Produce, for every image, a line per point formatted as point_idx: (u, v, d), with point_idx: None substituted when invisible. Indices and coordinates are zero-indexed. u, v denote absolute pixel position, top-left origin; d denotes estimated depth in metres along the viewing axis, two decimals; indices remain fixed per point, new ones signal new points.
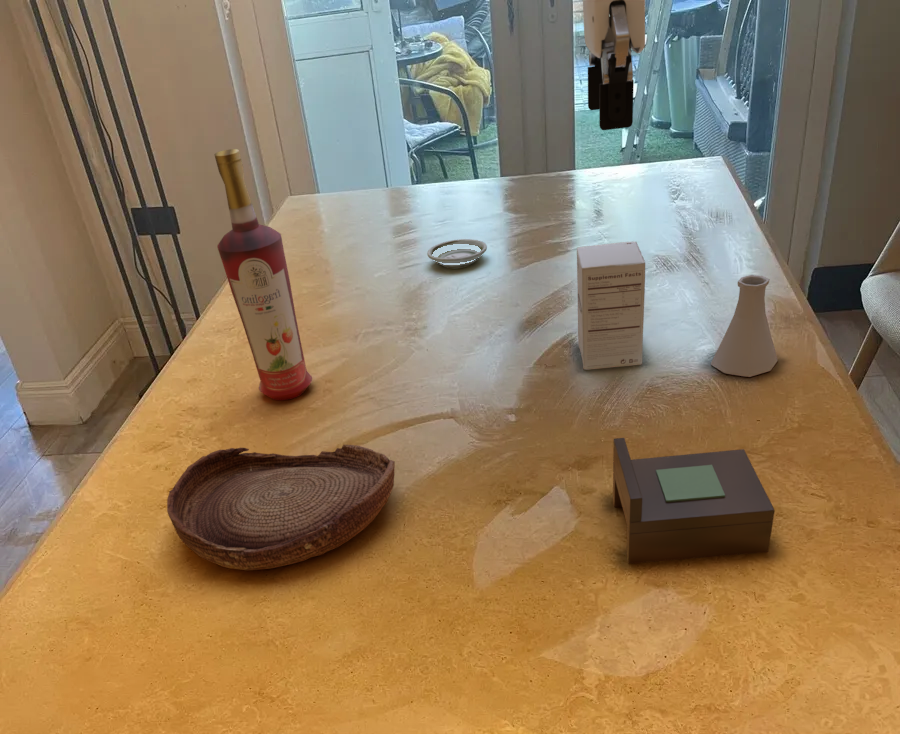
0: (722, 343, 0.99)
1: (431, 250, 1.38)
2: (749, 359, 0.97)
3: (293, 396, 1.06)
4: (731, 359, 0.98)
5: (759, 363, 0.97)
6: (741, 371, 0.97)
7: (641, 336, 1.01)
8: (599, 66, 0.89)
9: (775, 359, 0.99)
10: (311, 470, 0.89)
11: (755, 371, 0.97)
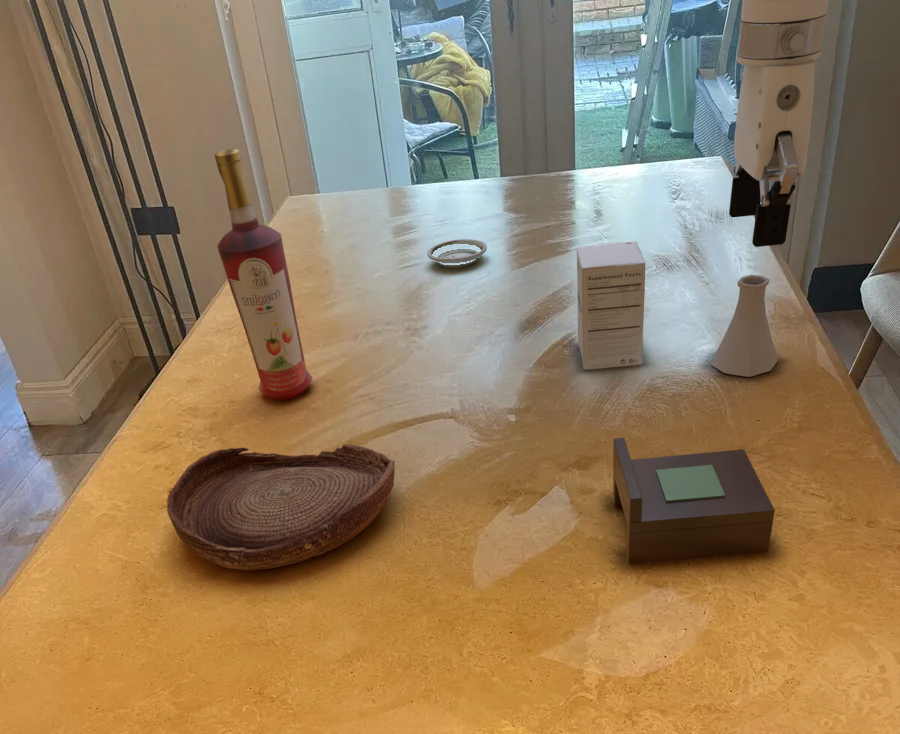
0: (722, 343, 0.99)
1: (431, 250, 1.38)
2: (749, 359, 0.97)
3: (293, 396, 1.06)
4: (731, 359, 0.98)
5: (759, 363, 0.97)
6: (741, 371, 0.97)
7: (641, 336, 1.01)
8: (745, 178, 0.92)
9: (775, 359, 0.99)
10: (311, 470, 0.89)
11: (755, 371, 0.97)
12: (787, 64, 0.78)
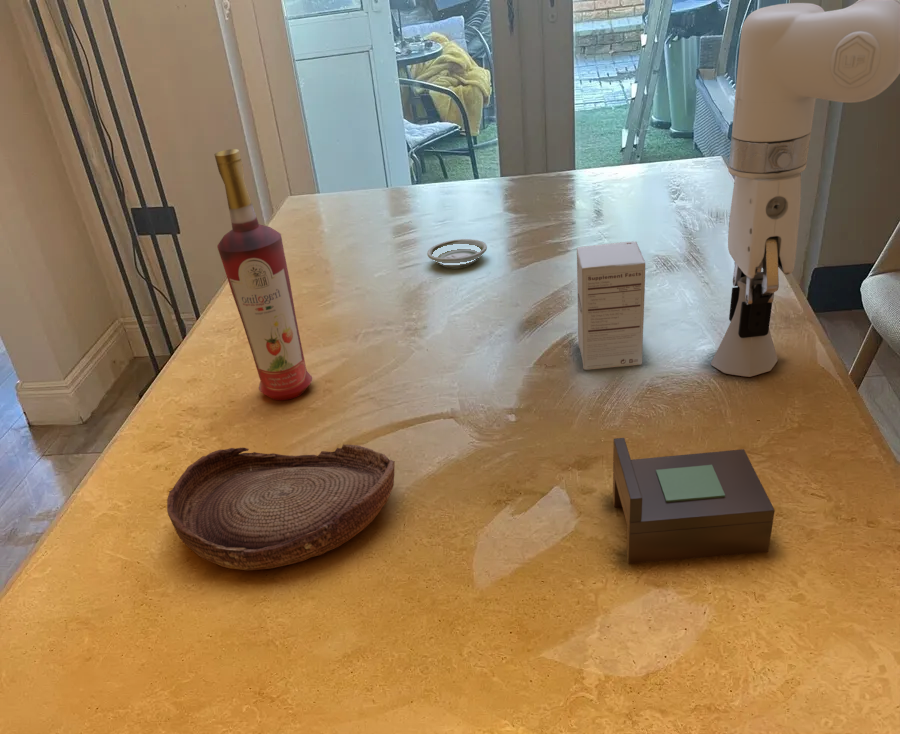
0: (722, 343, 0.99)
1: (431, 250, 1.38)
2: (749, 359, 0.97)
3: (293, 396, 1.06)
4: (731, 359, 0.98)
5: (759, 363, 0.97)
6: (741, 371, 0.97)
7: (641, 336, 1.01)
8: None
9: (775, 359, 0.99)
10: (311, 470, 0.89)
11: (755, 371, 0.97)
12: (775, 178, 0.84)
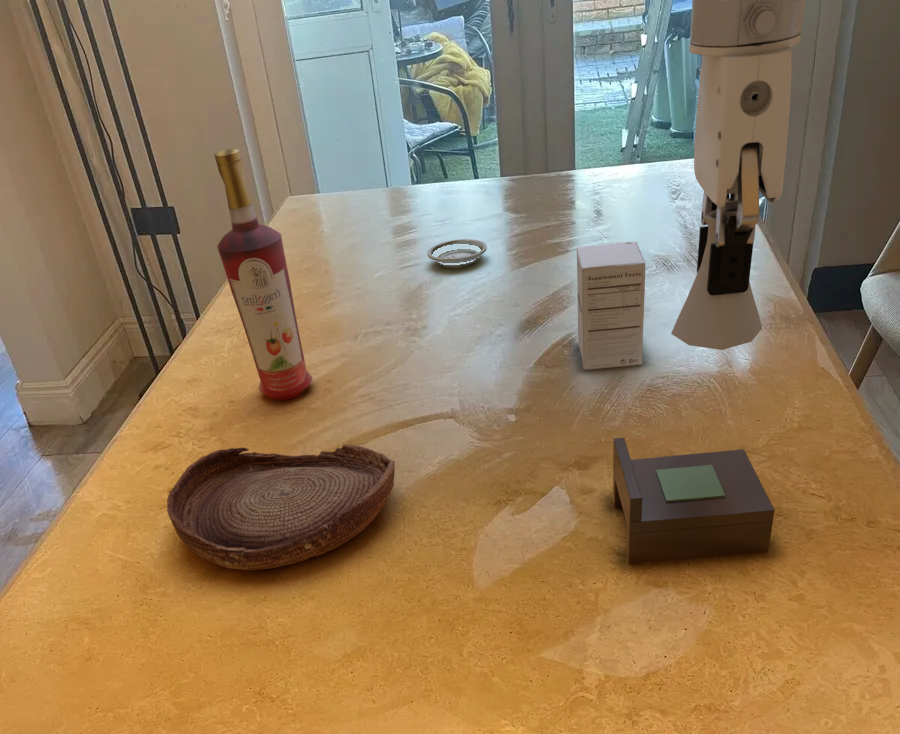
0: (686, 304, 0.72)
1: (431, 250, 1.38)
2: (721, 325, 0.70)
3: (293, 396, 1.06)
4: (697, 326, 0.71)
5: (735, 332, 0.71)
6: (711, 342, 0.71)
7: (641, 336, 1.01)
8: None
9: (758, 327, 0.73)
10: (311, 470, 0.89)
11: (730, 343, 0.71)
12: (754, 53, 0.57)
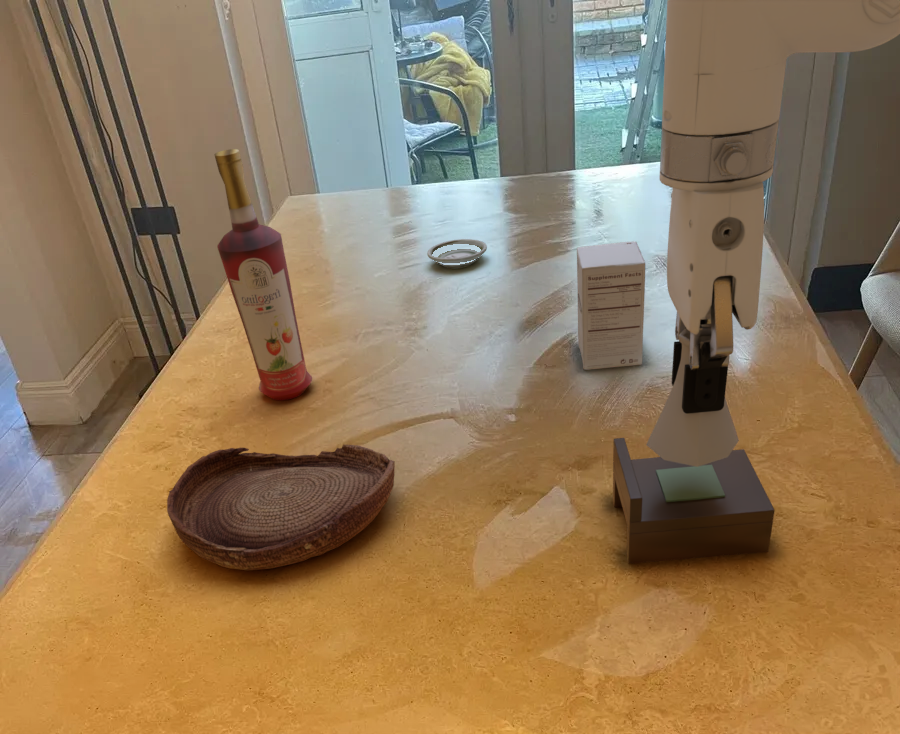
0: (661, 418, 0.71)
1: (431, 250, 1.38)
2: (697, 443, 0.69)
3: (293, 396, 1.06)
4: (672, 441, 0.70)
5: (711, 448, 0.69)
6: (687, 458, 0.69)
7: (641, 336, 1.01)
8: None
9: (735, 440, 0.71)
10: (311, 470, 0.89)
11: (706, 459, 0.69)
12: (725, 189, 0.56)
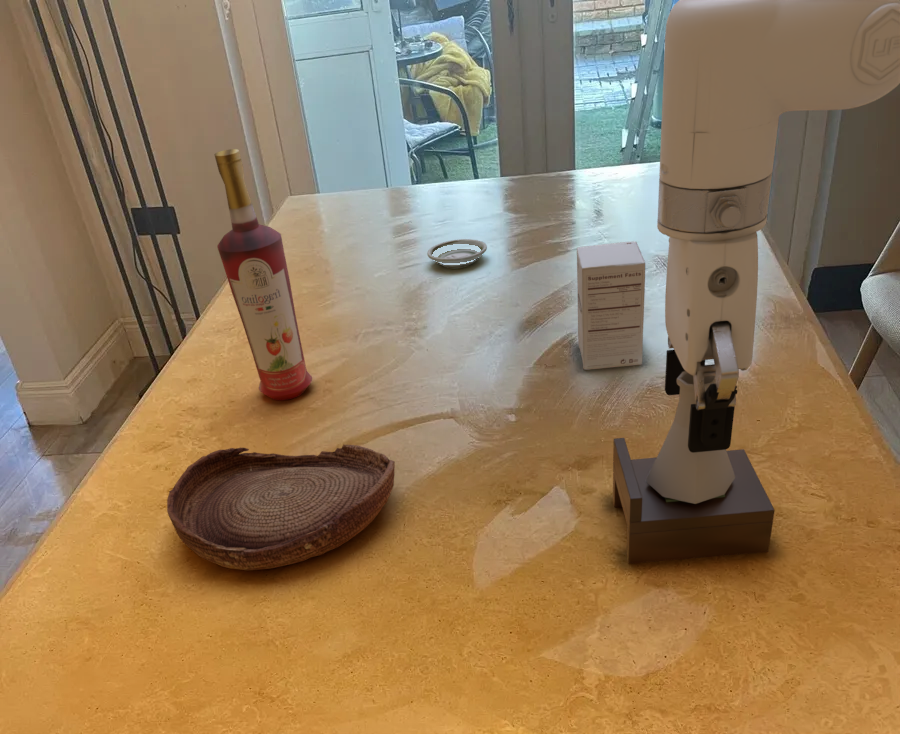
0: (659, 456, 0.73)
1: (431, 250, 1.38)
2: (694, 481, 0.71)
3: (293, 396, 1.06)
4: (671, 479, 0.72)
5: (708, 486, 0.72)
6: (685, 495, 0.72)
7: (641, 336, 1.01)
8: None
9: (731, 477, 0.73)
10: (311, 470, 0.89)
11: (704, 496, 0.72)
12: (720, 240, 0.58)
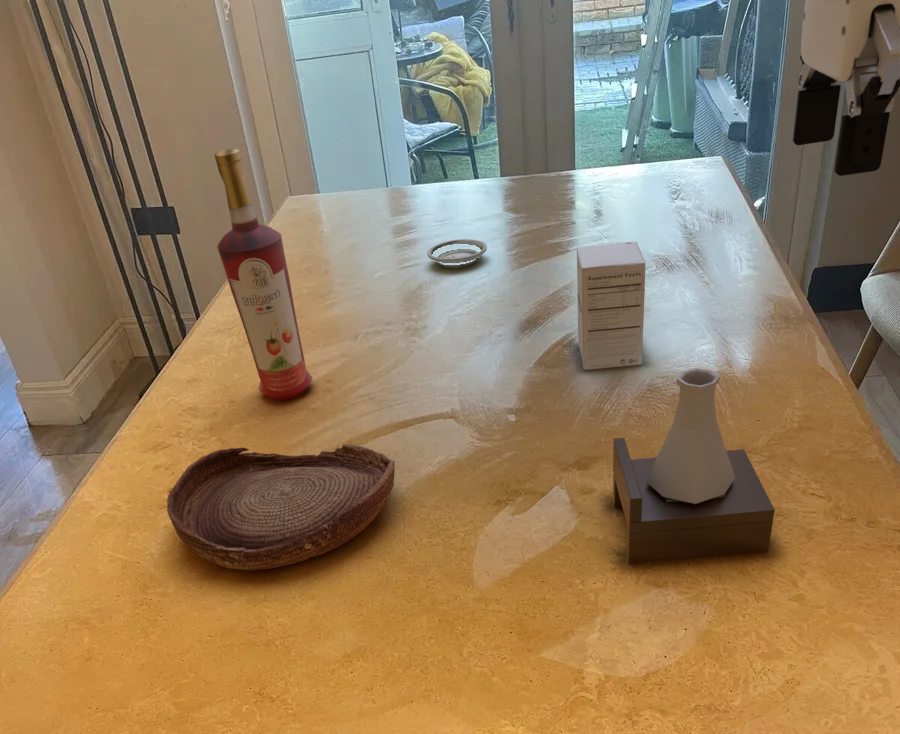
0: (659, 456, 0.73)
1: (431, 250, 1.38)
2: (694, 481, 0.71)
3: (293, 396, 1.06)
4: (671, 479, 0.72)
5: (708, 486, 0.72)
6: (685, 495, 0.72)
7: (641, 336, 1.01)
8: (815, 89, 0.69)
9: (731, 477, 0.73)
10: (311, 470, 0.89)
11: (704, 496, 0.72)
12: None
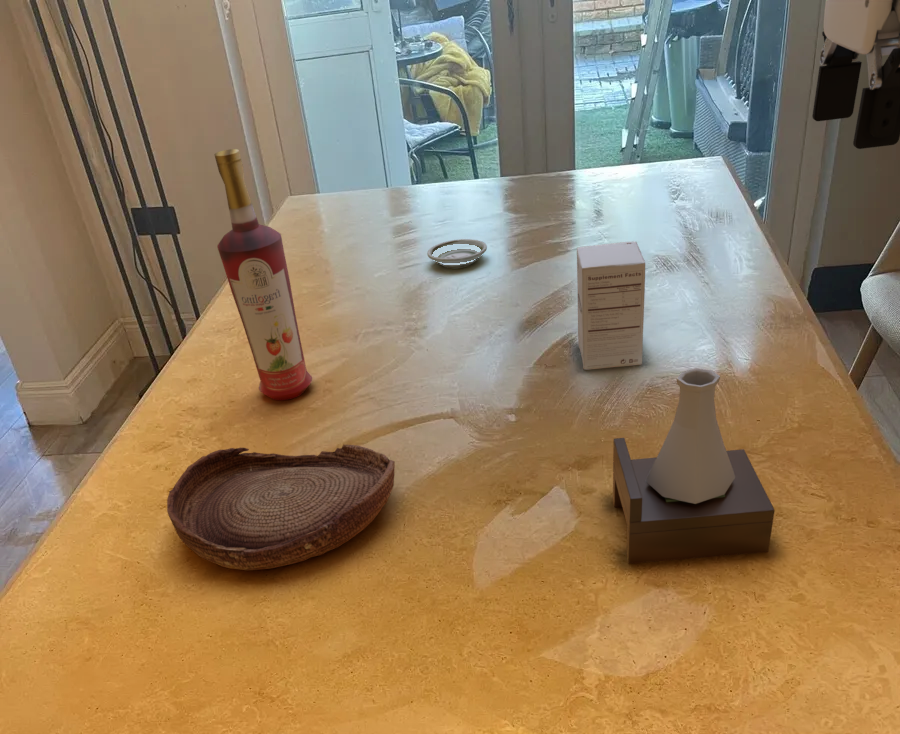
0: (659, 456, 0.73)
1: (431, 250, 1.38)
2: (694, 481, 0.71)
3: (293, 396, 1.06)
4: (671, 479, 0.72)
5: (708, 486, 0.72)
6: (685, 495, 0.72)
7: (641, 336, 1.01)
8: (836, 65, 0.69)
9: (731, 477, 0.73)
10: (311, 470, 0.89)
11: (704, 496, 0.72)
12: None
